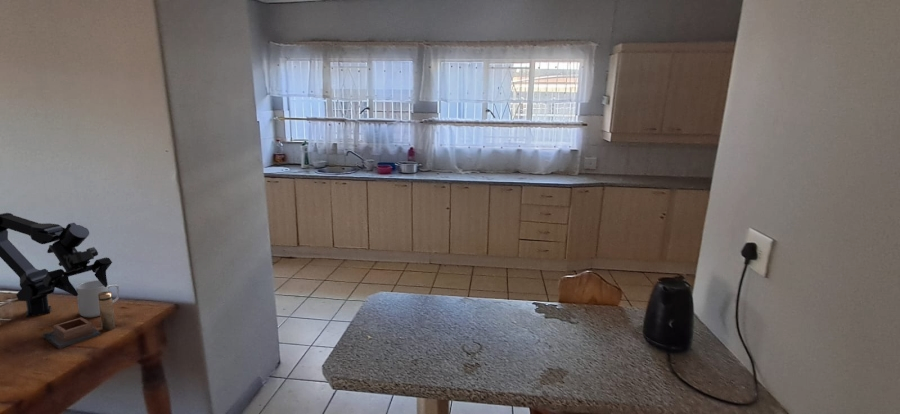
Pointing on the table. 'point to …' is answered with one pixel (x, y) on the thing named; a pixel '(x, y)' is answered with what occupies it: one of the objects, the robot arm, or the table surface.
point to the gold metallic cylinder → (106, 310)
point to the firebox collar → (71, 332)
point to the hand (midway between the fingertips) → (92, 290)
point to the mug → (91, 297)
